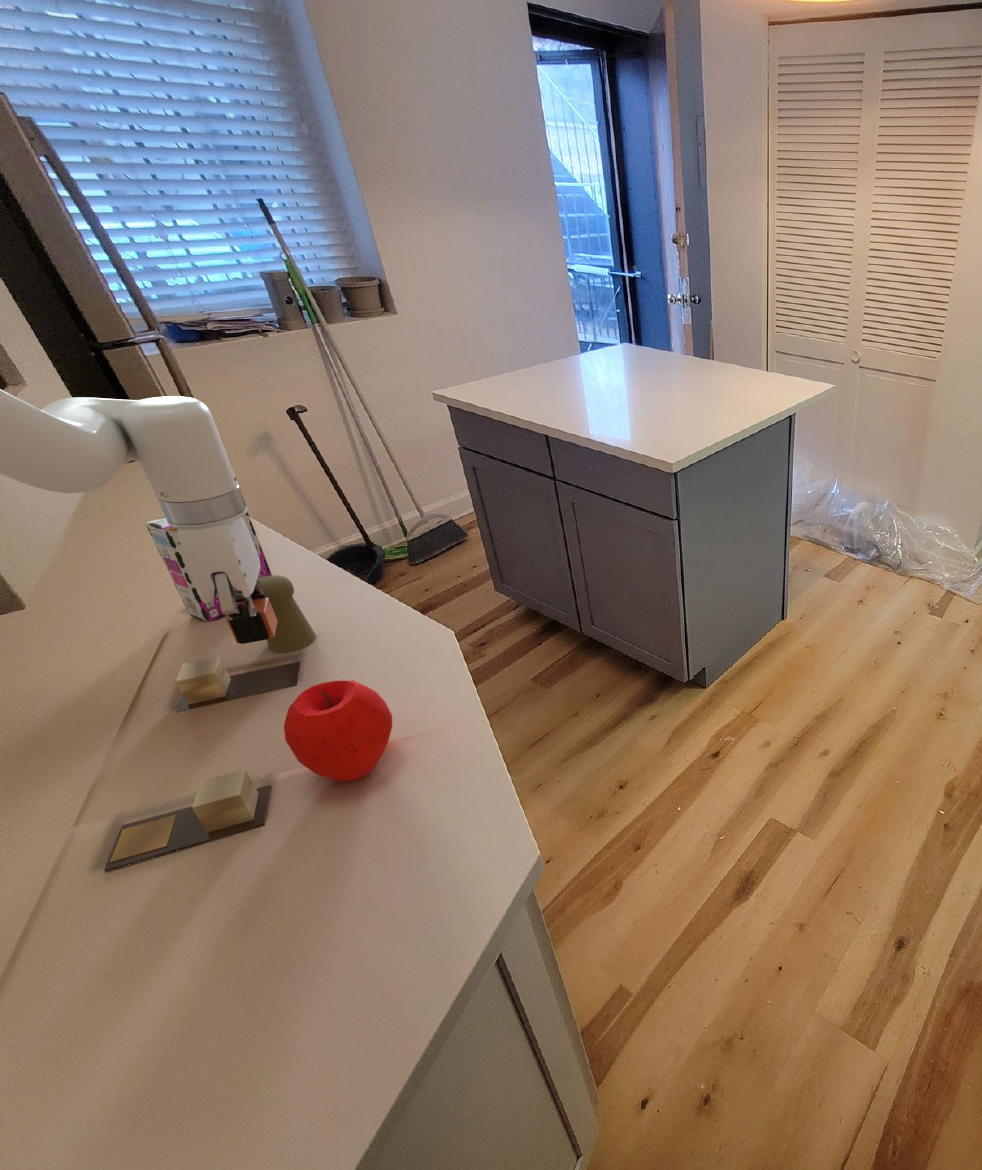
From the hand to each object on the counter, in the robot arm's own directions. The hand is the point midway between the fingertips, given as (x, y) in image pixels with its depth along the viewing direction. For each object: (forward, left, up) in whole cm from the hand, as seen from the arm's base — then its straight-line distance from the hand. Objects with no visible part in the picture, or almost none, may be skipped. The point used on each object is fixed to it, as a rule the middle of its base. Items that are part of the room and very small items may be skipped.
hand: (256, 629), depth 85 cm
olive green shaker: (+1, +9, -9) cm, 12 cm away
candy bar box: (-8, +25, -9) cm, 28 cm away
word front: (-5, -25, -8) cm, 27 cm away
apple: (+10, -23, -9) cm, 27 cm away
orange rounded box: (0, 0, 0) cm, 0 cm away
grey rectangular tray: (-4, 0, -8) cm, 9 cm away
